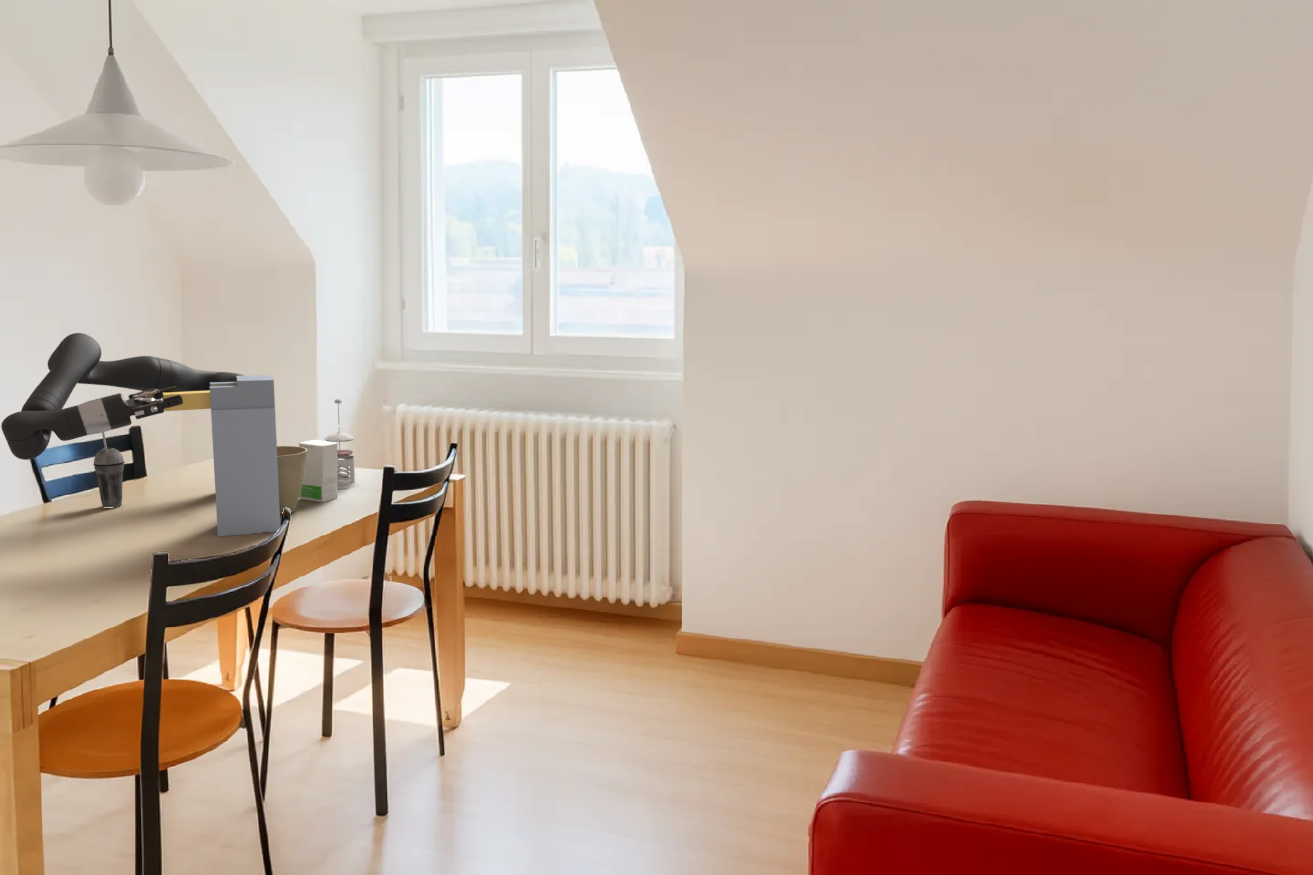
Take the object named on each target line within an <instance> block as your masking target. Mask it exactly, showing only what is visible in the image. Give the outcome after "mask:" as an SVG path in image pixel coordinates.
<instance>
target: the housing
mask: <svg viewBox="0 0 1313 875" xmlns="http://www.w3.org/2000/svg"><path fill="white" fill-rule="evenodd" d="M275 398H276V397H275V380H274V378H273V375H272V374H268V375H267V374H265V375H264V374H263V375H260V374H259V375H245V376H237V382H213V383H210V401H211V409H210V413H211V414H210V417H211V432H212V434H211V435H212V436H211V437H212V452H213V453H212V454H213V468H214V470H213V473H214V474H213V476H214V491H215V509H216V510H215V511H216V524H217V526H216V528H217V529H216V530H217V537H227V536H228V537H229V536H240V535H241V536H242V535H254V534H253V533H257V534H263V533H262V532H270V533H277V532H276V531H277V530H278V529H279V528H280V529H281V514H280V509H279V486H278V463H277V446H278V445H277V425H276V424H277V423H276V422H277V421H276V420H277V418H276V403H275V402H276V400H275Z"/></svg>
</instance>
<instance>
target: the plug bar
mask: <svg viewBox="0 0 1313 875" xmlns="http://www.w3.org/2000/svg"><path fill="white" fill-rule="evenodd" d="M175 395H181V397H182V400H183V404H181V405H177V406H173V407H170V408H166V410H164V412H172V411H174V412H176V411H177V412H178V411H191V410H192V411H193V410H194V411H195V410H211V401H210V390H208V391H188V392H167V393H163V398H167V397H171V396H175ZM163 400H164V399H163Z"/></svg>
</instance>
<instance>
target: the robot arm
mask: <svg viewBox="0 0 1313 875" xmlns="http://www.w3.org/2000/svg"><path fill="white" fill-rule="evenodd" d="M101 358H102V348H101V346H100V344H99V343H98V341H97V340H96V339H95V338H93V337H92V336H90V335H88V334H85V333H82V332H74V333H70V334H68V335H66V336H65V337H64V338H63V340H61V342H60V343H59V344H58V345H57V347H56V348H55V350H54V351H53V352H52V353H51V355H50V356H49V358H48V360H47V369H48V370H49V372H48V373H47V374H46V375H45V376H44V377H43V379H42V380H41V381H40V382H39V383H38V385H37V386H36V387H35V388H34V390H33V391H32V393H31V394H30V395H29V397H28V398H27V399H26V401H25V402H24V404H23V406H22V407H21V410H20V411H17V412H14V413H11V414H9V415H8V416H6V417H5V418H4V419H3V420H2V422H1V423H0V424H1V425H0V428H1V431H2V433H3V436H4V438H5V441H6V443H7V445H8V447H9V450H10V452H11V454H12V455H13V456H14V457H16V458H17V459H19V460H24V461H28V460H33V459H36V458H37V457H39V456H40V455H42V454H43V453H44V452H45V451H46V449H47V448H48V446H49V444H50V439H51V436H52V433H54V435H56V437H57V438H58V439H59V440H61V442H67V441H73V440H76V439H78V438H83V437H85V436H90V435H95V434H96V435H97V434H102V432H104V433H105V432H110V431H113V430H117V429H120V428H124V427H128V426H131V425H132V420H131V417H132V416H134V417H135V420H140V419H144V418H147V417H151V416H156V415H159V414H160V415H161V414H163V413H165V410H166V408H170V407H173V406H177V405H181V404H183V400H182V397H181V395H175V396H171V397H167V398H163V393H167V392H188V391H208V390H210V383H213V382H237V376H246V375H245V374H242V373H237V372H229V371H213V370H211V371H210V370H203V369H202V370H201V369H196V368H192V367H190V366H187V365H185V364H182V363H180V362H177V361H174V360H170V359H166V358H161V357H157V356H150V355H139V356H132V357H128V358H127V357H126V358H121V359H117V360H116V359H115V360H110V361H109V360H107V361H106V360H101ZM77 384H78V385H79V384H81V385H94V386H95V385H96V386H105V387H107V386H108V387H115V388H123V389H129V390H135V391H139V392H136V393H131V394H129V395H128V399H126V400H125V398H124V395H123V394H122V393H120V392H119V393H114V394H110V395H107V396H103V397H100V398H96V399H90V400H88V401H85V402H83V403H80V404H78V405H77V404H76V405H74V406H69V407H66V408H64V406H65V405H66V403H67V402H68V400H69V398H70V396H71V394H72V393H73V390H74V389H75V387H76V386H77ZM163 399H164V400H163Z"/></svg>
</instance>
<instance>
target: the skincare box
mask: <svg viewBox="0 0 1313 875" xmlns="http://www.w3.org/2000/svg"><path fill="white" fill-rule="evenodd" d="M298 447H303V448H306V449H307V457H306V467H305V473H304V479H303V484H302V488H301V492H300V496H299V500H304V501H313V502H319V503H327V502H329V501H332V500H335V499H338V489H337V470H338V469H337V466H338V465H337V460H338V459H337V450H338V442H330V441H326V440H320V439H319V440H318V439H311V440H306V441H301V442H299V443H298Z"/></svg>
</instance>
